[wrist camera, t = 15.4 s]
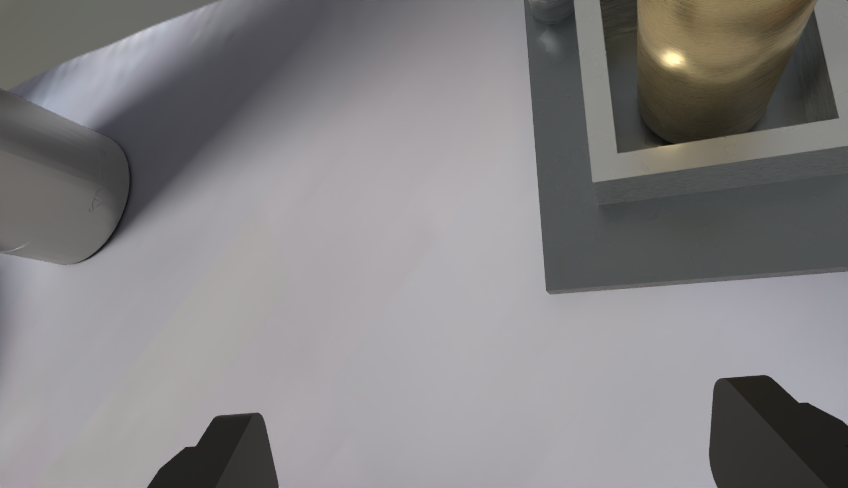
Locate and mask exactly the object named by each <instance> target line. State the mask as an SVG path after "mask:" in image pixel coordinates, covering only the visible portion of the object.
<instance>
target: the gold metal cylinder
mask: <svg viewBox="0 0 848 488" xmlns="http://www.w3.org/2000/svg"><path fill="white" fill-rule="evenodd" d="M817 1H818V0H637V101H638V107H639V110H640V113H641V116H642V118H643V120H644V121H645V123H646V124H647V125H648V127H649V128H650V129H651V130H652V131H653V132H654V133H656V134H657V135H658V136H660V137H661V138H663V139H665V140H667V141H669V142H671V143H674V144H681V143H687V142H694V141H700V140H706V139H712V138H719V137H725V136H731V135H737V134H744V133H745V132H746V131H748V130H749V129H750V128H751V127H752V126H753V125H755V124H756V122H757V121H758V120H759V119H760V117H761V116H762V114H763V113H764V111H765V109H766V107H767V105H768V103H769V101H770V99H771V97H772V95H773V92H774V90H775V88H776V86H777V84H778V82H779V80H780V78H781V76H782V74H783V72H784V70H785V67H786V65H787V63H788V61H789V59H790V57H791V55H792V53H793V51H794V49H795V47H796V45H797V42H798V40H799V38H800V36H801V34H802V32H803V30H804V28H805V26H806V24H807V22H808V20H809V17H810V15H811V13H812V11H813V9H814V7H815V5H816V3H817Z"/></svg>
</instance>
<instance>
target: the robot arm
mask: <svg viewBox="0 0 848 488" xmlns="http://www.w3.org/2000/svg"><path fill="white" fill-rule="evenodd" d="M129 176H130V175H129V168H128V162H127V159H126V157H125V154H124V152H123V150H122V149H121V148H120V146H119V145H118V144H117V143H116V142H114V141H113V140H112V139H110V138H108V137H106V136H104V135H102V134H99V133H97V132H95V131H93V130H91V129H88V128H86V127H84V126H82V125H80V124H77V123H75V122H73V121H71V120H69V119H66V118H64V117H62V116H60V115H58V114H56V113H54V112H51V111H49V110H47V109H45V108H43V107H40V106H38V105H36V104H34V103H32V102H29V101H27V100H25V99H23V98H21V97H18V96H16V95H14V94H12V93H10V92H7V91H5V90H3V89H1V88H0V253H4V254H9V255H15V256H20V257H25V258H30V259H35V260H40V261H45V262H51V263H56V264H61V265H67V264H74V263H77V262H79V261H82V260H84V259H86V258H87V257H89V256H90V255H92V254H93V253H95V252H96V251H97V250H98V249H99V248H100V247H101V246H102V245H103V244H104V243H105V242H106V241H107V239H108V238H109V237H110V235H111V234H112V232H113V231H114V229H115V228H116V226H117V224H118V222H119V220H120V218H121V216H122V213H123V210H124V207H125V205H126V201H127V196H128V191H129ZM709 460H710V466H711V471H712V474H713V477H714V480H715V483H716V485H717V487H718V488H848V426H847V425H846V424H845V423H844V422H843V421H841V420H839V419H838V418H836V417H834V416H832V415H830V414H828V413H826V412H824V411H822V410H820V409H818V408H816V407H815V406H813V405H811V404H809V403H798V402H797V401H796V400H795V399H794V398H793V397H792V396H791V395H790V394H788V393H787V392H786V391H785V390H784V389H783V388H782V387H781V386H780V385H779V384H778V383H777V382H775V381H774V380H773V379H772V378H771V377H769V376H766V375H759V376H746V377H733V378H721V379H718V380H717V381H716V383H715V386H714V391H713V404H712V418H711V433H710V447H709ZM147 488H279V486H278V480H277V475H276V471H275V466H274V462H273V457H272V452H271V448H270V443H269V439H268V434H267V430H266V425H265V422H264V419H263V417H262V415H261V414H260V413H247V414H234V415H221V416H216V417H215V418H214V419H213V420H212V421H211V423H210V425H209V426H208V428H207V429H206V431H205V433H204V434H203V436H202V437H201V439H200V441H199V442H198V444H197V445H196V446H195V447H185V448H184V449H183V450H182V451H180V452H179V453H178V454H177V455H176V456H175V457H173V458H172V459H171V460H170V461H169V462H167V463H166V464H165V465H164V466H163V467H161V468H160V469H159V471H158V472H157V474H156V475H155V477H154V478H153V480H152V481H151V483H150V484H149V486H148V487H147Z"/></svg>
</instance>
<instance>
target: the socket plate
mask: <svg viewBox="0 0 848 488" xmlns="http://www.w3.org/2000/svg"><path fill="white" fill-rule="evenodd" d="M524 6H525V19H526V32H527V45H528V58H529V71H530V84H531V98H532V111H533V124H534V137H535V150H536V163H537V176H538V189H539V202H540V215H541V228H542V241H543V254H544V267H545V280H546V291H547V292H548V293H549V294H561V293H574V292H587V291H600V290H613V289H626V288H639V287H652V286H664V285H677V284H690V283H703V282H716V281H729V280H742V279H755V278H768V277H781V276H793V275H806V274H819V273H832V272H845V271H848V0H818V1H817V3H816V5H815V7H814V9H813V11H812V13H811V15H810V17H809V20H808V22H807V24H806V26H805V28H804V30H803V32H802V34H801V36H800V38H799V40H798V42H797V45H796V47H795V49H794V51H793V53H792V55H791V57H790V59H789V61H788V63H787V65H786V67H785V70H784V72H783V74H782V76H781V78H780V80H779V82H778V84H777V86H776V88H775V90H774V92H773V95H772V97H771V99H770V101H769V103H768V105H767V107H766V109H765V111H764V113H763V114H762V116H761V117H760V119H759V120H758V121H757V122H756V124H755V125H753V126H752V127H751V128H750V129H749V130H748V131H746V132H745V133H744V134H737V135H731V136H725V137H719V138H712V139H706V140H700V141H694V142H687V143H681V144H674V143H671V142H669V141H667V140H665V139H663V138H661V137H660V136H658V135H657V134H656V133H654V132H653V131H652V130H651V129H650V128H649V127H648V125H647V124H646V123H645V121H644V120H643V118H642V116H641V113H640V110H639V107H638V101H637V0H524Z"/></svg>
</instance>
